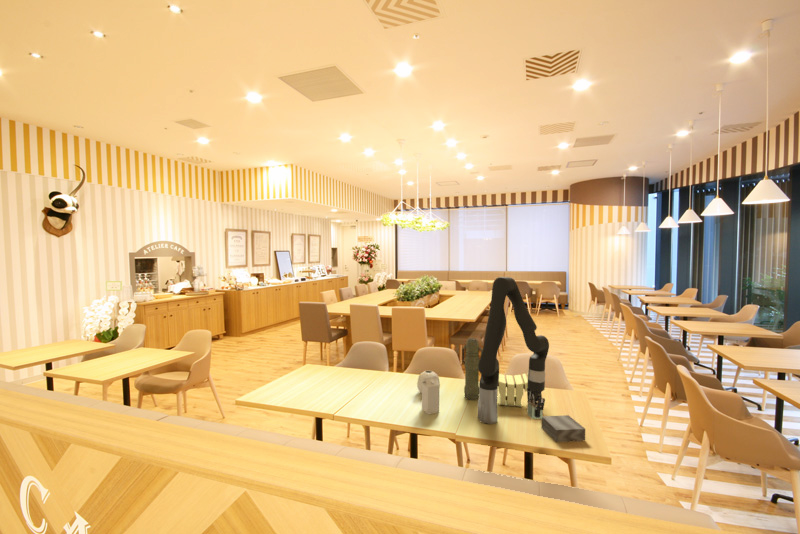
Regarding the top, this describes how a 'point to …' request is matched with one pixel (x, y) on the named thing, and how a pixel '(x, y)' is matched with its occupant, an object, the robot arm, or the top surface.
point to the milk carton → (430, 395)
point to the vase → (422, 378)
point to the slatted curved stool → (511, 389)
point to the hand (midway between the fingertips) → (534, 414)
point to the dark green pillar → (471, 369)
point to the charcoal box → (563, 428)
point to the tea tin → (533, 410)
